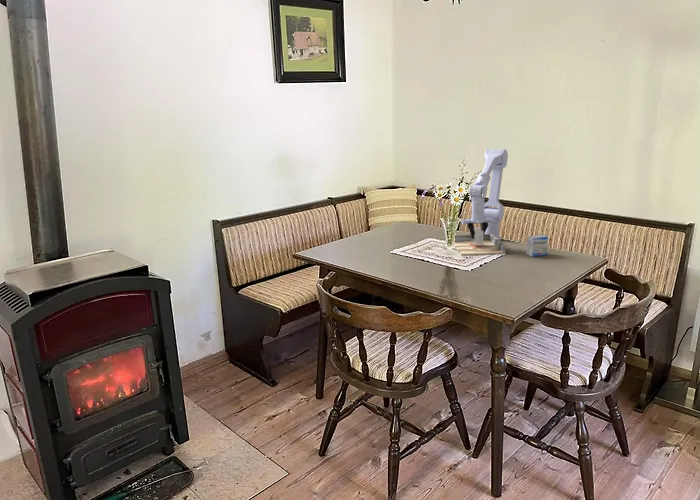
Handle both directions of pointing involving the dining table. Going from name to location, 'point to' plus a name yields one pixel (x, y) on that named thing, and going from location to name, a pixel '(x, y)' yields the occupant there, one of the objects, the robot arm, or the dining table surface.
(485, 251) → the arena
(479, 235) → the aluminium block
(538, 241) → the medicine box
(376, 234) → the dining table surface
